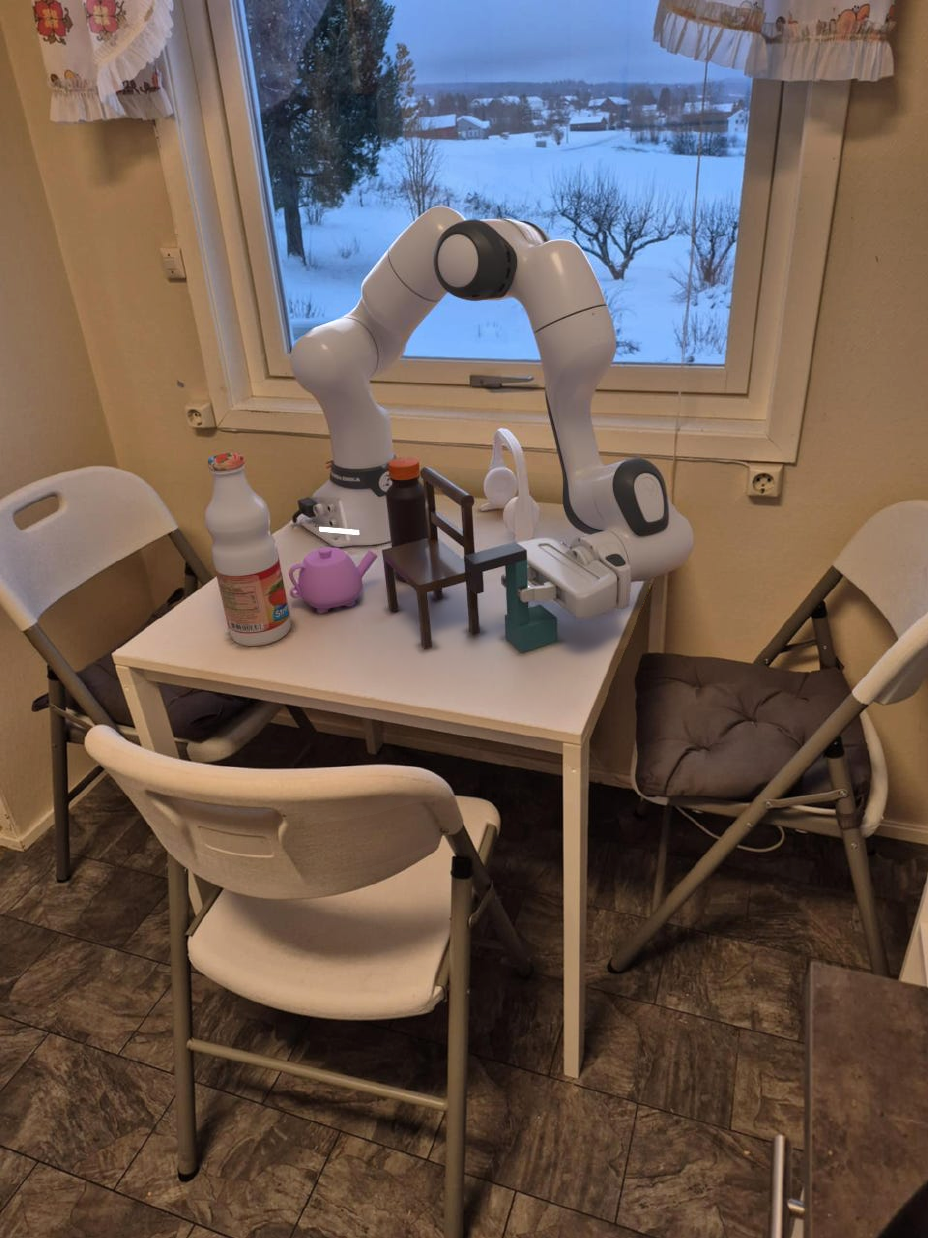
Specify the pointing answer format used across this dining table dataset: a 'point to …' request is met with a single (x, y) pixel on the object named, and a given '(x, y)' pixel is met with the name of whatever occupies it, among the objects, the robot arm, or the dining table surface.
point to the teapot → (329, 578)
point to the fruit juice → (245, 556)
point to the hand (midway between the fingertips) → (511, 589)
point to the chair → (434, 556)
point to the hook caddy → (513, 596)
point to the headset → (511, 488)
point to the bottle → (406, 503)
